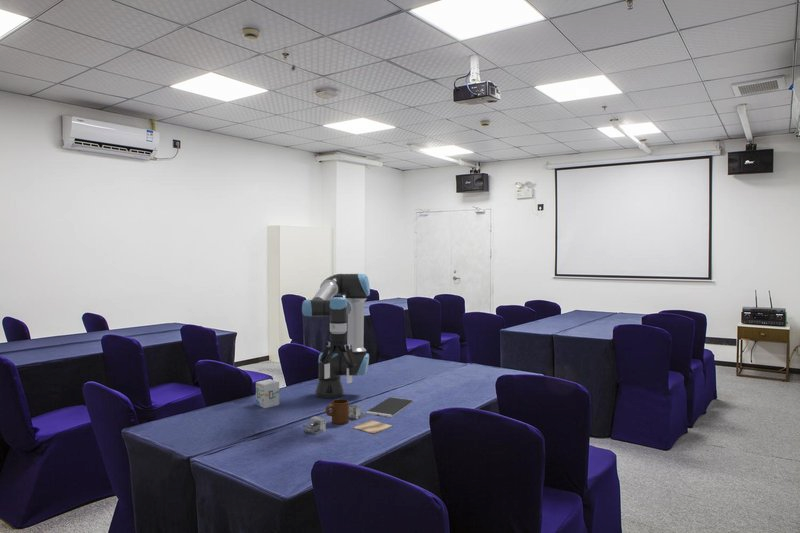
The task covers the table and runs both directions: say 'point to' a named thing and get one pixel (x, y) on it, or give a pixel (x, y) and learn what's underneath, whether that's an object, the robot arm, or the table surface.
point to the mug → (339, 411)
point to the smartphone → (389, 407)
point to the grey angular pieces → (320, 423)
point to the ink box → (267, 393)
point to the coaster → (372, 427)
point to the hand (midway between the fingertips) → (338, 380)
